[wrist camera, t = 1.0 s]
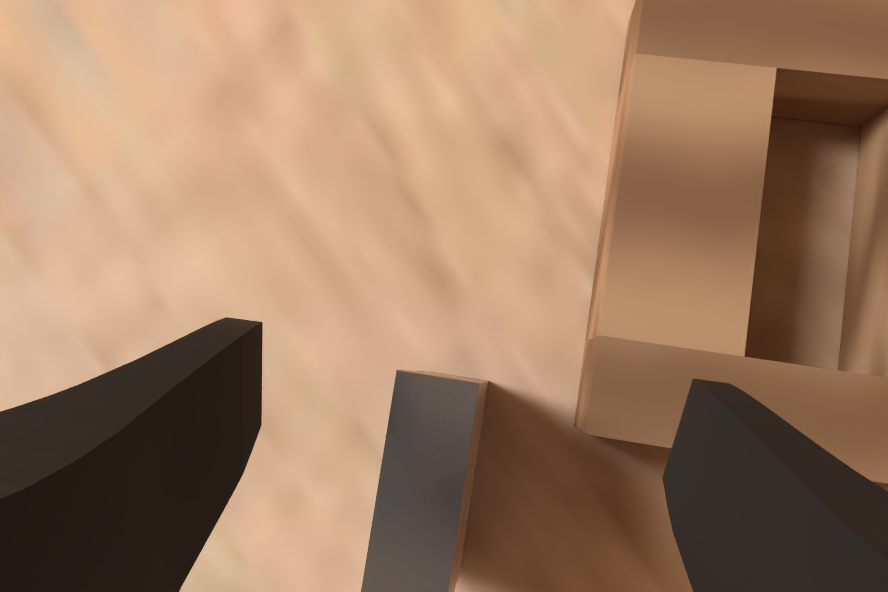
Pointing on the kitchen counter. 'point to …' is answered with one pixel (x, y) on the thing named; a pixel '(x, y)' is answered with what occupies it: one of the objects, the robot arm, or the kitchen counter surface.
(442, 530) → the grey rectangular block
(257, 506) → the kitchen counter surface
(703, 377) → the slotted wooden block
